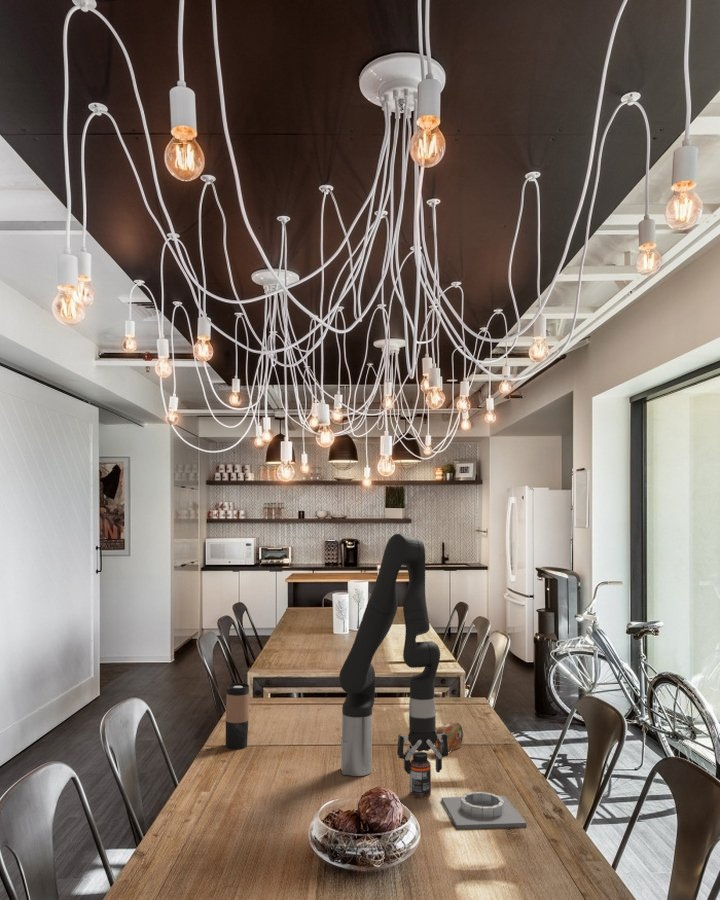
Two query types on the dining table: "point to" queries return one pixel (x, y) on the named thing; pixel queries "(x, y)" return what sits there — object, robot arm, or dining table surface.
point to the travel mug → (237, 715)
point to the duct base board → (468, 822)
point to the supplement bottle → (420, 776)
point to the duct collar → (478, 810)
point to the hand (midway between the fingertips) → (422, 772)
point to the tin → (450, 736)
